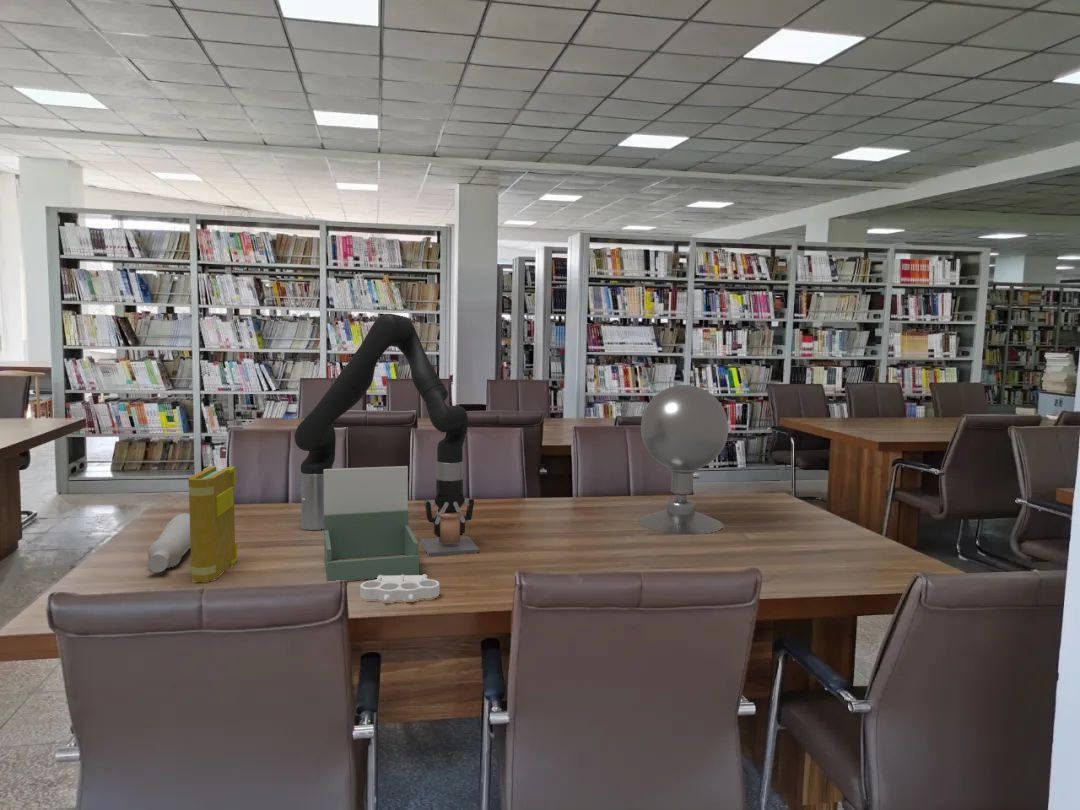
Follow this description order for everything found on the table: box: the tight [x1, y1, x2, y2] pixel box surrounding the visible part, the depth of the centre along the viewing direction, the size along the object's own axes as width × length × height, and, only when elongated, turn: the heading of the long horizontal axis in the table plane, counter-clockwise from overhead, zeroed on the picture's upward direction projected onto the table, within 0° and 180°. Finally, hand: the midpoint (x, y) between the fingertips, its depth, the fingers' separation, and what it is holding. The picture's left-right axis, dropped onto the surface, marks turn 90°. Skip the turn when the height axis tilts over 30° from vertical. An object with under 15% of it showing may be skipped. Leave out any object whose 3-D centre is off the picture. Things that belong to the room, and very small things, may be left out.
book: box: [188, 466, 238, 583], centre depth 186 cm, size 17×7×25 cm, turn 5°
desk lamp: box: [637, 384, 729, 535], centre depth 242 cm, size 28×28×45 cm
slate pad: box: [420, 535, 480, 557], centre depth 211 cm, size 14×14×1 cm
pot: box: [438, 512, 461, 544], centre depth 211 cm, size 7×7×8 cm
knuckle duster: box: [359, 573, 441, 601], centre depth 174 cm, size 3×18×15 cm
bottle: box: [147, 513, 191, 573], centre depth 196 cm, size 9×9×30 cm
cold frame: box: [323, 465, 420, 582], centre depth 192 cm, size 22×21×24 cm
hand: (449, 535), depth 211 cm, fingers closed on pot, 6 cm apart
